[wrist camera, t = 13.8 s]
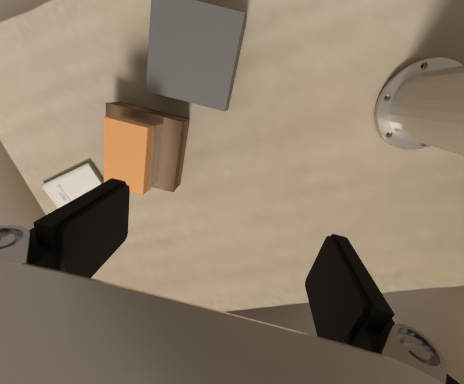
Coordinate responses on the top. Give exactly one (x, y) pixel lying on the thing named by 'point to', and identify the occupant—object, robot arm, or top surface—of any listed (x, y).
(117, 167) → the cover
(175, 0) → the stand
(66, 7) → the top surface
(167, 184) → the stand
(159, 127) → the housing base
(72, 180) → the external hard drive
